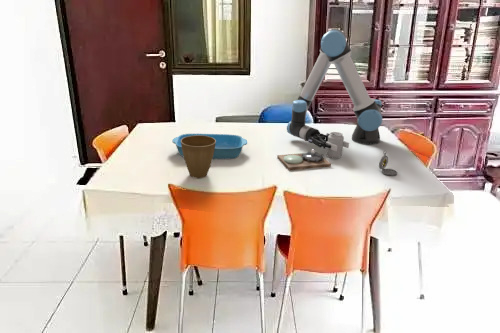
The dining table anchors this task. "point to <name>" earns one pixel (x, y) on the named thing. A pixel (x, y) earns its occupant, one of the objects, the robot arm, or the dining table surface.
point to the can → (337, 140)
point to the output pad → (292, 159)
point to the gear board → (303, 163)
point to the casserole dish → (219, 145)
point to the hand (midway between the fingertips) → (342, 147)
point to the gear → (312, 156)
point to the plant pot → (198, 154)
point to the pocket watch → (384, 162)
